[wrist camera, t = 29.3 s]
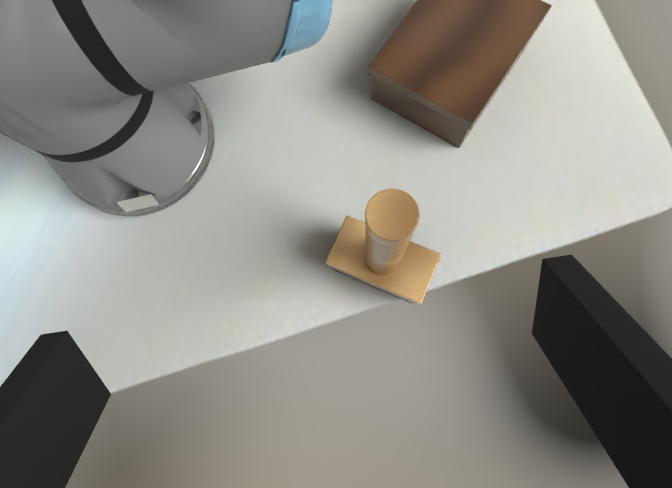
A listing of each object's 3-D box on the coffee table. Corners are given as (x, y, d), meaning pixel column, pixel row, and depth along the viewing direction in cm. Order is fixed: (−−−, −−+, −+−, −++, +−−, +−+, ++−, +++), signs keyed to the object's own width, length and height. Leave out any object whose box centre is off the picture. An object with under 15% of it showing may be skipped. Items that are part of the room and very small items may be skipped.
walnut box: (366, 98, 41) (366, 65, 36) (437, 0, 43) (446, -45, 38) (459, 150, 39) (473, 123, 34) (529, 45, 41) (552, 5, 36)
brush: (329, 270, 38) (301, 221, 22) (348, 227, 38) (335, 149, 22) (415, 307, 36) (454, 285, 20) (433, 262, 37) (485, 206, 21)
